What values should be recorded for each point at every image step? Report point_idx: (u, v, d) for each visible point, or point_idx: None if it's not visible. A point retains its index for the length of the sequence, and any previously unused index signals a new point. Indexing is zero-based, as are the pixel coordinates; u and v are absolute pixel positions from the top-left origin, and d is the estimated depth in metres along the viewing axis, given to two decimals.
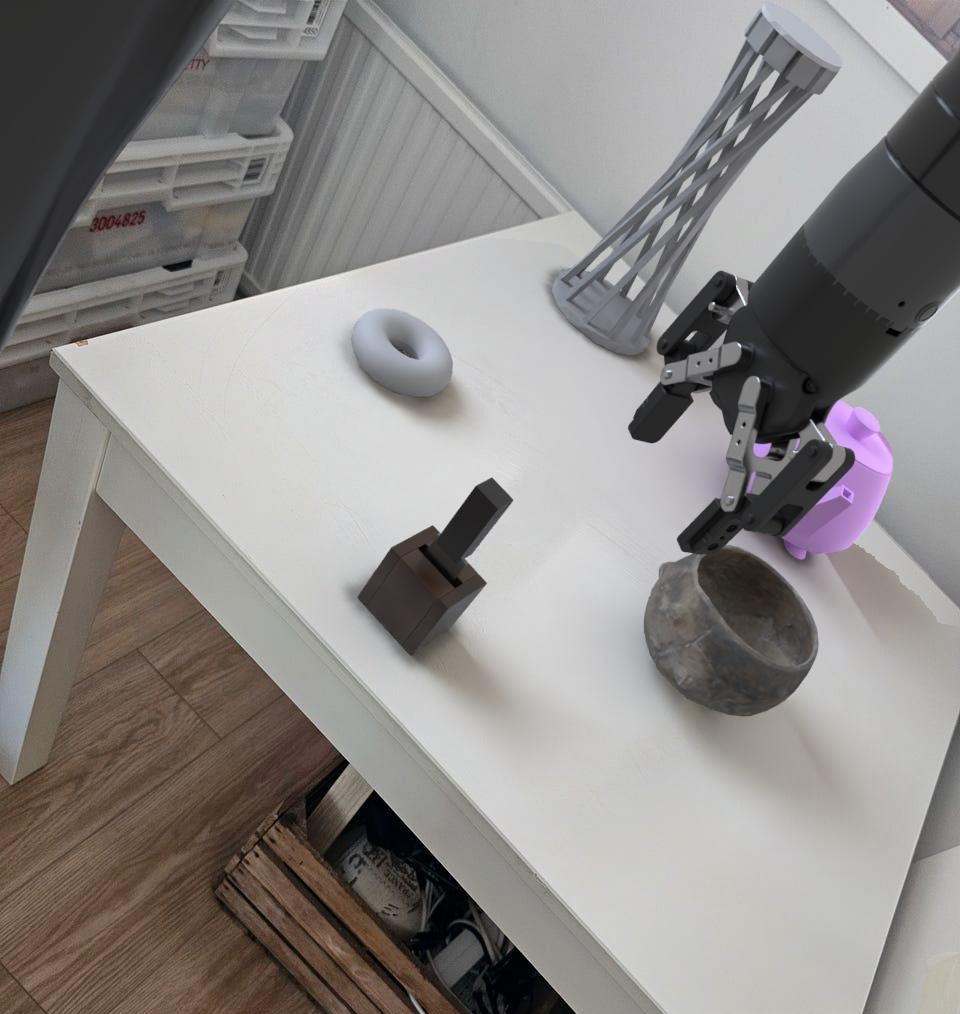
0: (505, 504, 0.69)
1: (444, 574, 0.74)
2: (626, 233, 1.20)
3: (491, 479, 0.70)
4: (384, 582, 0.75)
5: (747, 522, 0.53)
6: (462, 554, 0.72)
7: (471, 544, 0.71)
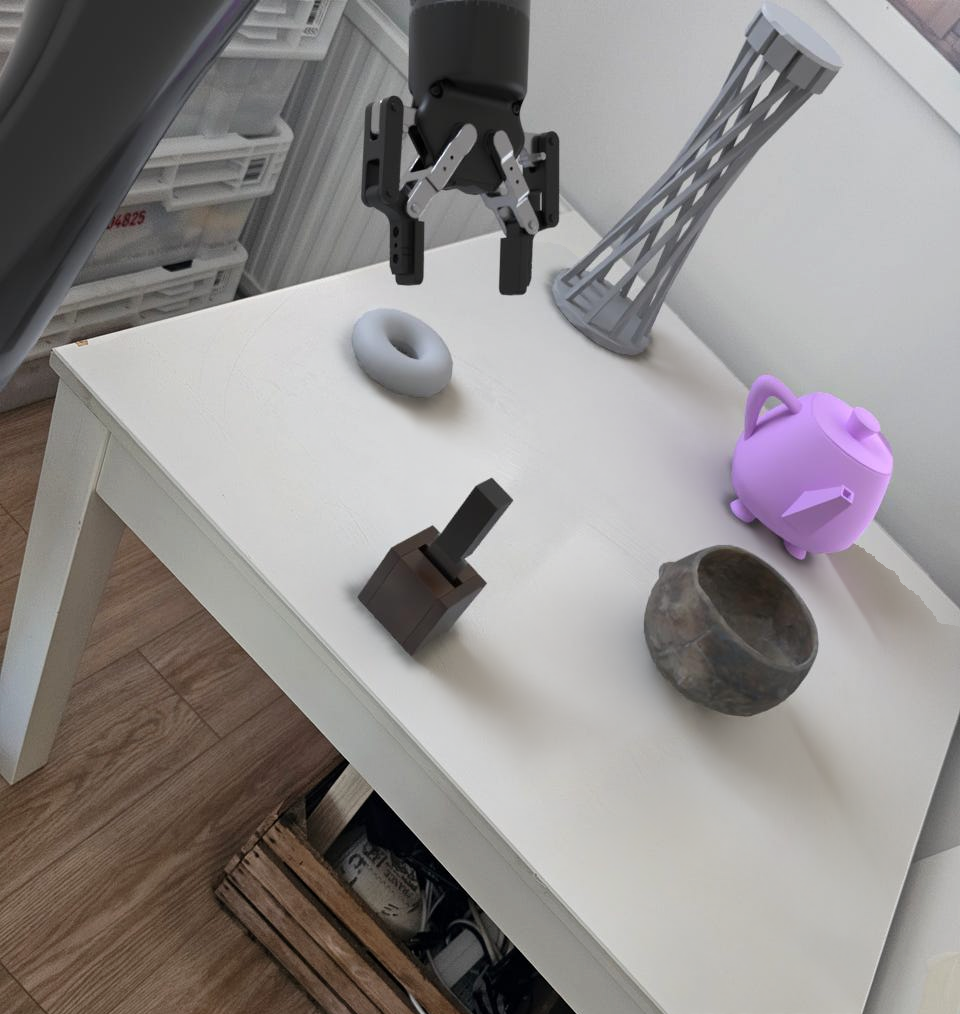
0: (505, 504, 0.69)
1: (444, 574, 0.74)
2: (626, 233, 1.20)
3: (491, 479, 0.70)
4: (384, 582, 0.75)
5: (555, 219, 0.70)
6: (462, 554, 0.72)
7: (471, 544, 0.71)
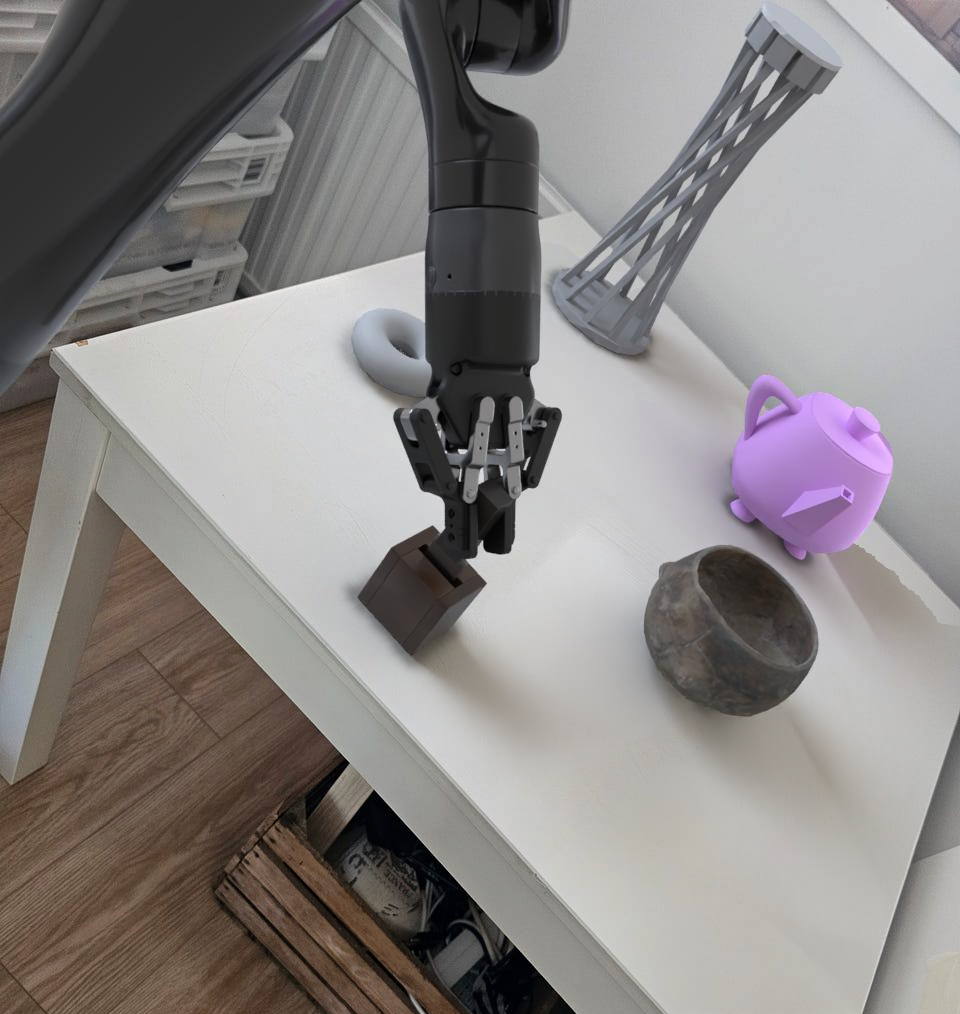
0: (505, 504, 0.69)
1: (444, 574, 0.74)
2: (626, 233, 1.20)
3: (491, 479, 0.70)
4: (384, 582, 0.75)
5: (536, 482, 0.72)
6: None
7: None
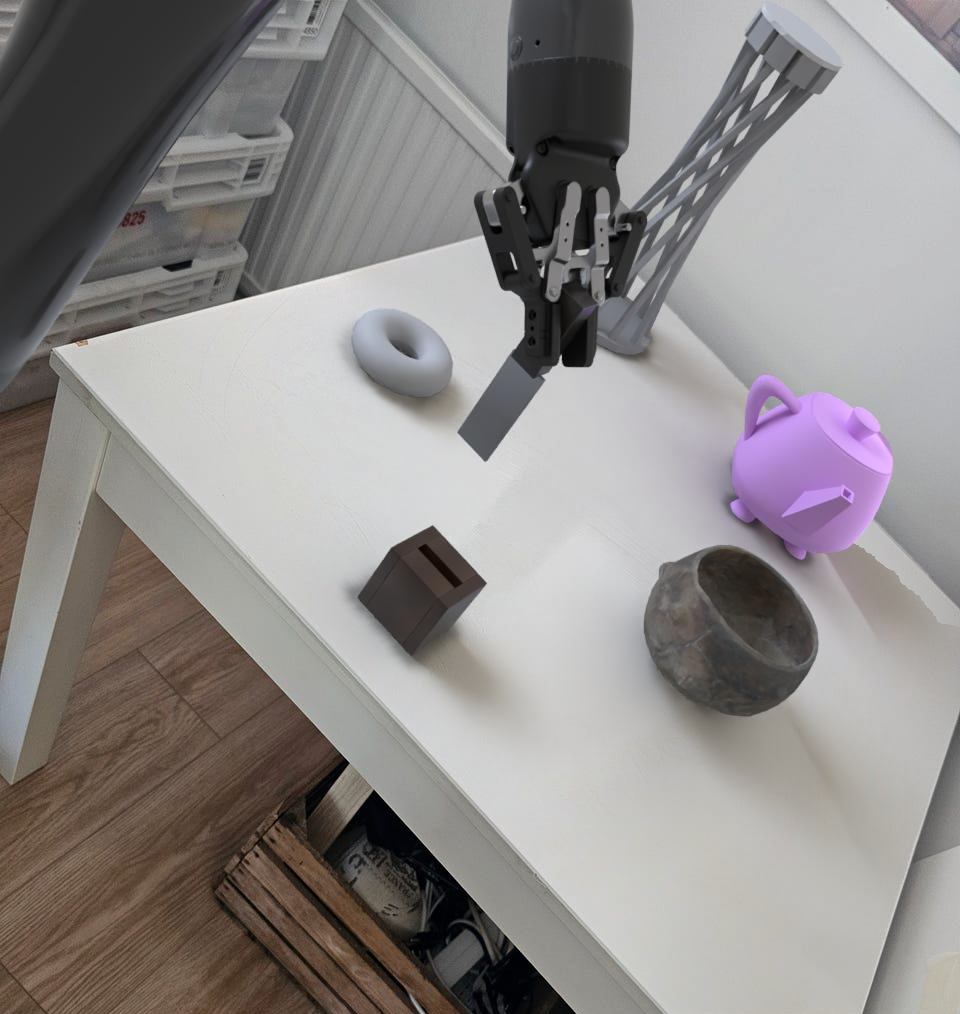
0: (590, 306, 0.64)
1: (518, 395, 0.70)
2: None
3: (574, 281, 0.65)
4: (384, 582, 0.75)
5: (620, 289, 0.67)
6: (540, 367, 0.67)
7: None
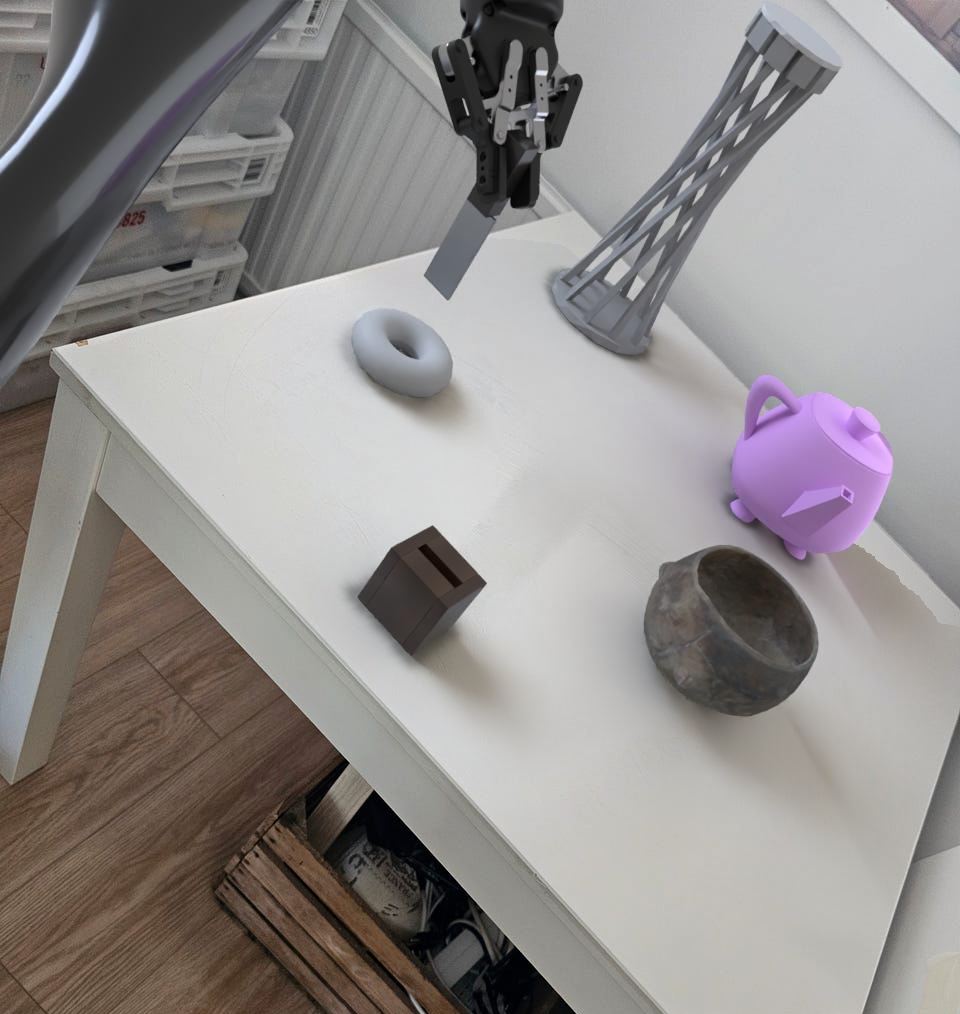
0: (532, 149, 0.76)
1: (474, 236, 0.82)
2: (626, 233, 1.20)
3: (519, 130, 0.77)
4: (384, 582, 0.75)
5: (559, 140, 0.79)
6: (491, 206, 0.79)
7: None
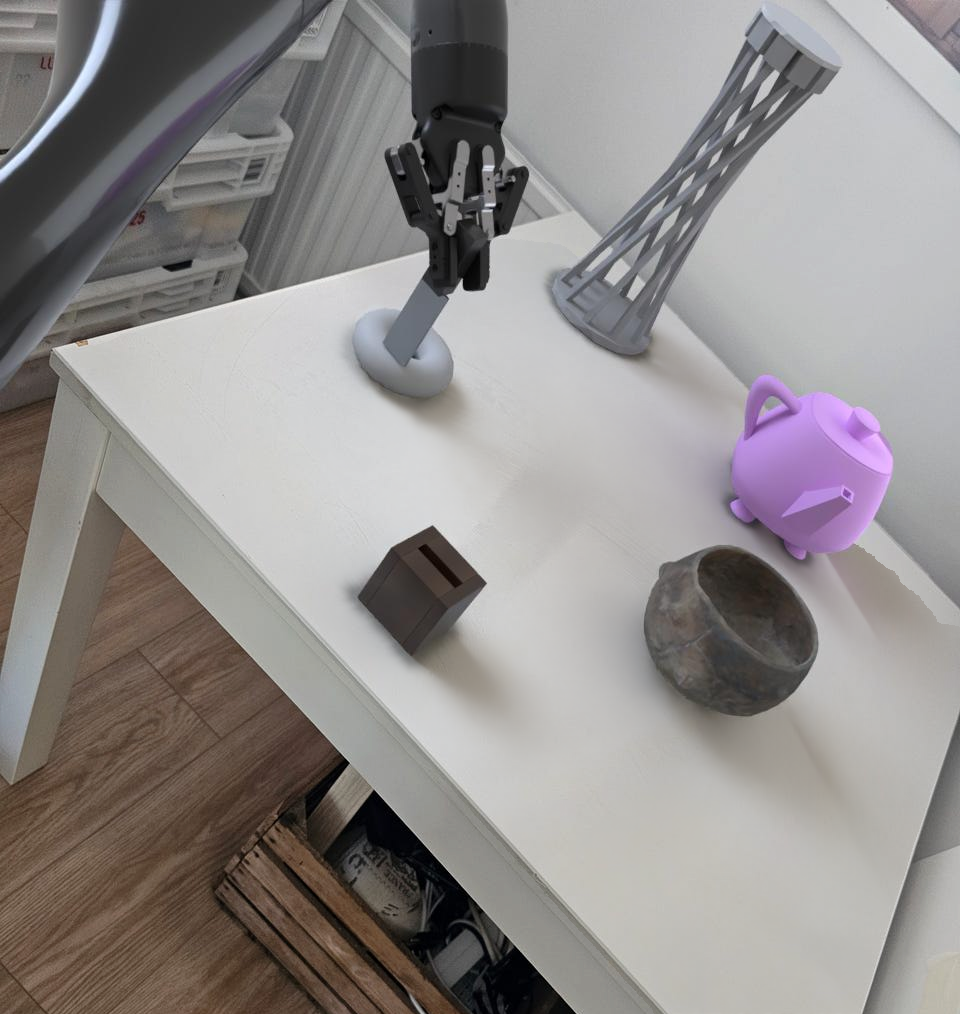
0: (481, 238, 0.82)
1: (428, 311, 0.87)
2: (626, 233, 1.20)
3: (470, 218, 0.82)
4: (384, 582, 0.75)
5: (507, 228, 0.84)
6: None
7: None
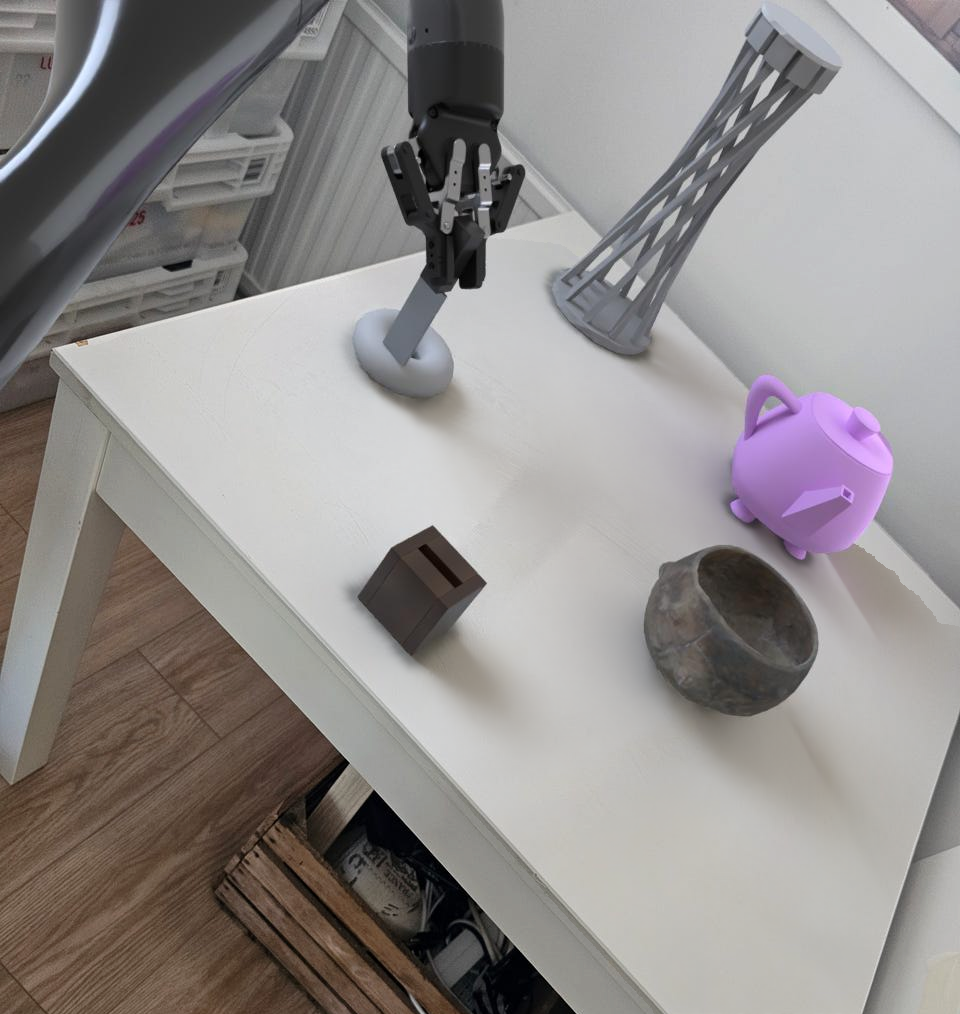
0: (478, 234, 0.82)
1: (427, 309, 0.87)
2: (626, 233, 1.20)
3: (468, 215, 0.83)
4: (384, 582, 0.75)
5: (503, 226, 0.85)
6: None
7: None
